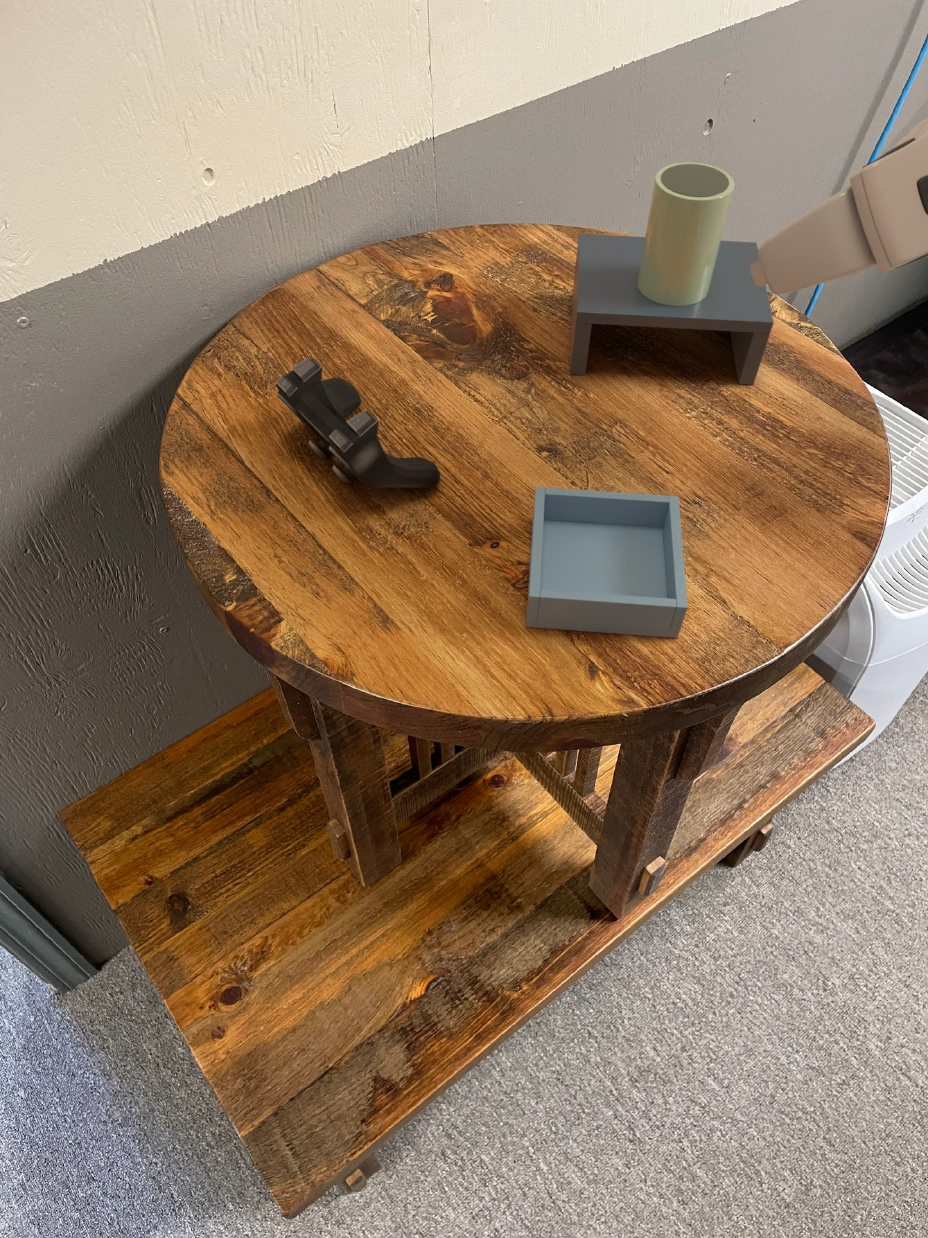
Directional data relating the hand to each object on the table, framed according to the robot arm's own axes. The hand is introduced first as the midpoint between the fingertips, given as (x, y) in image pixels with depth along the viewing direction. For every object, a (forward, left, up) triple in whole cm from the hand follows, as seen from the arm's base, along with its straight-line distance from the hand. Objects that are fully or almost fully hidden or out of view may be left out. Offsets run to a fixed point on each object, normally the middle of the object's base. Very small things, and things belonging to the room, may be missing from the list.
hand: (797, 255), depth 68 cm
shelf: (+8, -12, -16) cm, 22 cm away
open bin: (+14, +21, -16) cm, 30 cm away
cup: (+7, -11, -9) cm, 16 cm away
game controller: (+36, +9, -17) cm, 40 cm away
